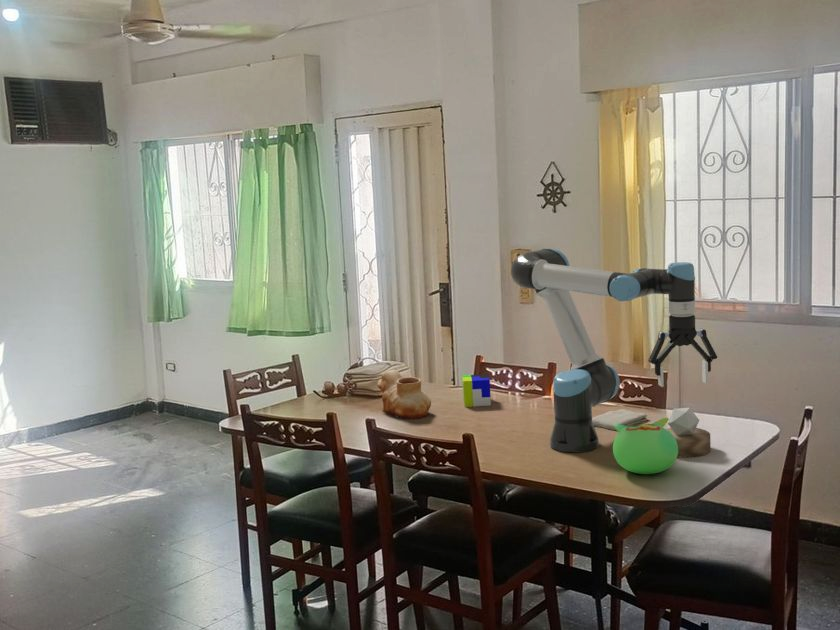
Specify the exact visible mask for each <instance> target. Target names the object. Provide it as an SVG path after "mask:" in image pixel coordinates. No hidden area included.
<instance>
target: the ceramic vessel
mask: <svg viewBox="0 0 840 630" xmlns="http://www.w3.org/2000/svg"><path fill="white" fill-rule="evenodd" d="M376 385H377V388H379V389H380V391H381V393H382V396H381V400H382V406H383V407H382V409H381V412H382V413H385V414H389V415H392V416H394V417H397V418H398V419H423V418H425V417H427V414H428V412H429V410H430V407H431V405H432V400H431V398H430V396H428V395H427V393H426V392H425V391H423V390H422V379H420V378H419V377H414V376H405V377H403V376H402V375H401V373H400V372H399V371H398V370H397V369H391V370H386V371H384V372H383V373H382V374H381V378H380V379H379V380H378V381H377V384H376Z"/></svg>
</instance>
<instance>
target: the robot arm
mask: <svg viewBox="0 0 840 630" xmlns="http://www.w3.org/2000/svg"><path fill="white" fill-rule="evenodd" d="M510 267H511V268H510V275H511V278H512V280H513V281H514V283H515V284H517V286H519V287H521V288H523V289H531V290H532V289H533V290H534V291H535V292H536V295H537V296H539V297H541V298H543V299H544V303H545V304H546V306H547V309H548V311H549V313H550V316H551V318H552V321H553V323H554V325H555V328H556V330H557V332H558V335H559V337H560V339H561V341H562V344H563V347H564V349H565V351H566V353H567V355H568V358H569V361H570V363H571V367H570V369H569V370H564V371H561V372H558V373H557V374H556V375H555V376H554V377H553V385H552V391H553V409H554V410H553V411H554V412H553V413H554V425H553V427H552V432H551V435H550V438H549V445H550V446H549V447H550V448H551V449H552V450H555V451H557V452H564V453H584V452H590V451H594V450H595V449H597V448H598V447H599V446H600V445H599V442H600V441H599V436H598V434H597V431H596V428H595V426H594V425H593V422H592V418H593V412H592V411H593V408H594V407H596V406H598V405H600V404H604V403H606V402H608V401H610V400H611V399H612V398H614V397H615V396H616V395H617V394H618V391H619V389H620V385H621V384H620V377H619V374H618V372H617V370H616V369H615V368H614V367H612V366H610V365H609V364H607V363H606V361H605V359H604V356H601V355H599V354H598V353H597V352H596V350H595V347H594V346H593V343H592V340H591V338H590V336H589V334H588V331H587V329H586V326H585V325H584V322H583V320H582V318H581V315H580V312H579V311H578V309H577V306H576V304H575V302H574V299H573V297H572V295H571V292H575V293H576V292H577V293H582V294H590V295H597V296H604V297H609V298H610V297H612V298H614V299H615V300H616V301H618V302H629V301H632V300H635V299H638V298H642V297H646V296H648V295H653V294H654V295H667V296H668V314H670V315H669V316H668V327H669V328H668V331H667V332H665V331H664V332H663V331H661V330H660V331H659V332H658V337H657V340H656V343H655V345H654V346H653V349H652V352H651V353H650V355H649V358H648V362H649V363H651V364H652V365H654V374H655V376H657V381H658V382H657V383H658V386H660V387H661V388H664V384H665V382H664V365H663V364H662V363H663V362H664V361H665V359H666V358H667V357H668V356H669V354H670V353H671V352H672V351H673V349H674V348H675V347H683V346H690V345H691V346H692V347H693V348H694V349H695V350H696V352H697V353H698V354H699V355H700V356H701V357H702V358H703V359H704V360H703V359H702V360H701V371H702V372H701V373H702V374H701V376H702V379H701V381H702V382H703V383H704V384H709V373H711V371H712V362H713V360H717V359H718V355H717V353H716V352H715V349H714V347H713V346H712V343H711V342H710V340H709V338H708V335H707V330H706V329H705V328H699V329H697V330H696V316H695V313H696V297H695V293H696V291H695V289H696V288H695V287H696V286H695V281H696V275H695V265H694V264H693V263H691V262H684V261H683V262H671V263H669V264H668V265H667V268H665V269H664V268H663V269H661V268H646V267H644V268H643V267H642V268H634V269H633V270H632V272H630V273H626V272H619V271H618V272H617V271H610V270H603V269H595V268H594V269H593V268H586V267H578V266H571V265H570V262H569V260H568V258H567V256H566V255H565V254H564V253H563V252H562V251H560V250H558V249H555V248H542V249H538V250H534V251H526V252H524V253H521V254H519V255H517V256H516V257H515V258H514V260H513V262H512V263H511V266H510ZM696 336H697V337H700V339H701V342H702V343H703V345H704V347H705V349H706V351H707V352H706V351H705V350H704V349H703V348H702V347H701V346H700V345H699V343H698V342H697V341H696V340H695V338H696ZM667 338H669V341H668V342H667V344H666V345H665V346H664V344H665V341H666V339H667ZM663 346H664V348H662V347H663ZM661 349H662V351H661ZM708 354H709V355H708Z"/></svg>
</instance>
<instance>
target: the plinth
mask: <svg viewBox="0 0 840 630" xmlns="http://www.w3.org/2000/svg"><path fill="white" fill-rule="evenodd" d="M665 429H666V430H668V431H669V432H670V433H671V434H672V435H673V436H674V437H675V439H676V441H677V445H678V455H677V458H687V459H688V458H698V457H699V458H700V457H703V456H706V455H708V454H710V452H711V451H712V450H711V448H712V447H711V433H710V432H709V431H708V430H706V429H703V428H697V427H696V430H695V432H694V435H682V436H677V435H676V434H675V433H674V431H673V430H672V429H671V427H669V428H665Z"/></svg>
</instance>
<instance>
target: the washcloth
mask: <svg viewBox="0 0 840 630" xmlns="http://www.w3.org/2000/svg"><path fill="white" fill-rule="evenodd" d="M647 417H648V415H647V414H646V413H643V412H634V411H632V410H630V409H620V408H619V409H617V410H609V411H607V412H605V413H602V414H601V413H600V414H598V415H596V416H592V422H593V425H594V427H597V428H604V429H607V430H611V431H617V430H616V429H615V428H614V426H613V425H614V424H621V425H624V426H627V427H630V426H633V425H637V424H639V423H642V422H644V421H647V420H648V418H647Z"/></svg>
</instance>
